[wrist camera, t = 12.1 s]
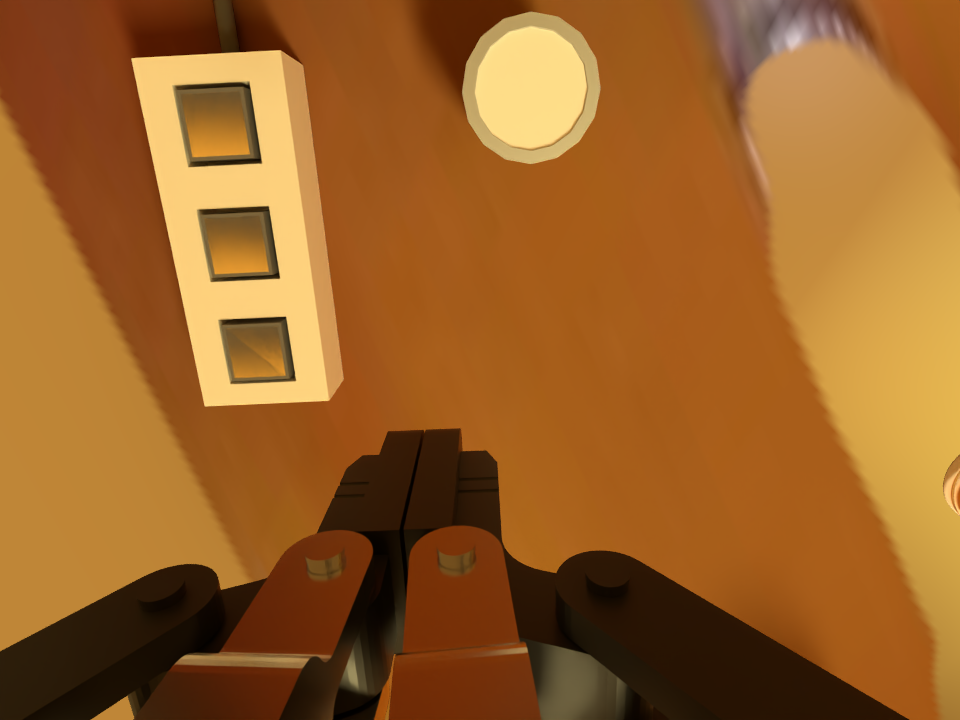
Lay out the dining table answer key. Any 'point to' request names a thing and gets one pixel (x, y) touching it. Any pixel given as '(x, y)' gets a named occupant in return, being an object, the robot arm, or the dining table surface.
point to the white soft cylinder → (531, 87)
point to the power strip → (239, 188)
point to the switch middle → (240, 243)
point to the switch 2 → (258, 348)
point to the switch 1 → (219, 124)
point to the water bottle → (953, 485)
